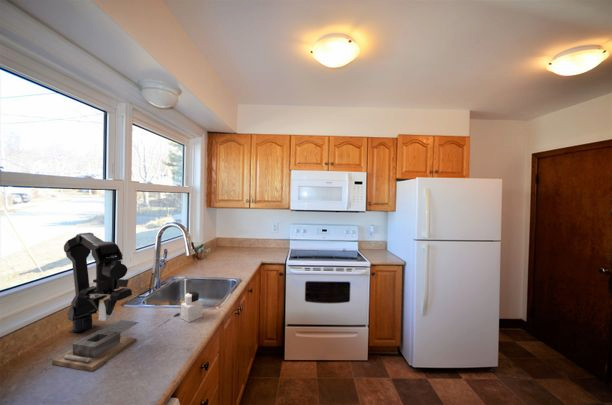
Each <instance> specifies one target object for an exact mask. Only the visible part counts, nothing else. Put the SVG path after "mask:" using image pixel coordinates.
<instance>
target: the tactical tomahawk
mask: <svg viewBox="0 0 612 405" xmlns="http://www.w3.org/2000/svg"><path fill="white" fill-rule="evenodd" d="M179 316H181V312H177V313H176V314H174V315H173V316H172V317H173V318H176V317H179ZM169 321H171V319H170V318H169V319H167V320H165V322H163V323H162V324H160V325H158V326H157V327H155V328H154V329H152V330H150V331H149V332H148V334H149V333H151V332H152V331H154V330H156V329H158V328H160V327H161V326H162V325H164V324H167V323H168V322H169ZM140 336H142V334H140V335H139V337H140Z"/></svg>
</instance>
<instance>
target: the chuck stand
mask: <svg viewBox="0 0 612 405" xmlns="http://www.w3.org/2000/svg"><path fill="white" fill-rule="evenodd" d="M136 342H137V338H135V337H128V336H124V335H123V336H122V335H121V333H120V332H114V331H107V330H103V329H98V330H97V331H95V332H93V333H90V334H89V335H87V336H85V337H83V338H81V339H79V340H77V341H75V342H74V343H72V349H70V350H69V351H66V352H64V353H63V354H60V355H58V356H57V357H55V358H53V359H52V360H51V365H53V366H59V367H65V368H71V369H76V370H82V371H87V372H94V371H95V370H97V369H98V368H99V367H101V366H103V365H104V364H105V363H107V361H109V360H110V359H111V358H112V357H114V356H116V355H117V354H119V353H121V352H122V351H123V350H125V349H126V348H128V347H130V346H131V345H132V344H134V343H136Z"/></svg>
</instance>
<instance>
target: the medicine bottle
mask: <svg viewBox="0 0 612 405" xmlns="http://www.w3.org/2000/svg"><path fill="white" fill-rule="evenodd" d="M199 295H200V294H199V292H198V291H190V292H187V293H186V294H185V295H184V302H183V303H180V319H182V320H184V321H186V322H187V323H190V322H191V323H192V322H193V321H196V320H198V319H201V318H203V302H201V301H200V300H199V298H200V296H199Z"/></svg>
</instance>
